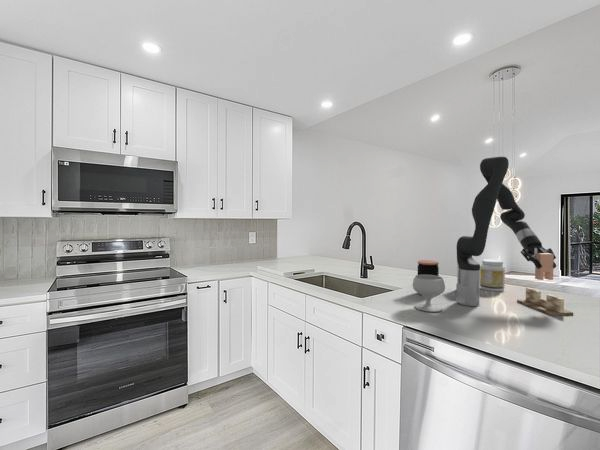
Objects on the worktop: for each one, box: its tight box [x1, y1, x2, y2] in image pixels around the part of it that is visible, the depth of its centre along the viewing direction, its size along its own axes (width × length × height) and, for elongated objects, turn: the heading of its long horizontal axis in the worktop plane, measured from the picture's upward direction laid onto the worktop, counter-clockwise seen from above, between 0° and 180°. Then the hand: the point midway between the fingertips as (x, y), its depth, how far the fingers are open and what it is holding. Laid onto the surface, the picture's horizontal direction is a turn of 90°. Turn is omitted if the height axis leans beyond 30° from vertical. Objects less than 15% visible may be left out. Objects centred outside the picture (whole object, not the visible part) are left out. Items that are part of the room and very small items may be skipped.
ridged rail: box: [516, 287, 574, 316], centre depth 141 cm, size 20×10×7 cm, turn 1°
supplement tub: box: [480, 258, 506, 293], centre depth 176 cm, size 12×12×17 cm
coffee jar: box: [417, 259, 440, 296], centre depth 166 cm, size 11×11×18 cm
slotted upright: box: [534, 253, 555, 281], centre depth 141 cm, size 3×6×12 cm, turn 90°
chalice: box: [412, 274, 446, 313], centre depth 141 cm, size 14×14×15 cm
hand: (547, 267), depth 139 cm, fingers closed on slotted upright, 6 cm apart
